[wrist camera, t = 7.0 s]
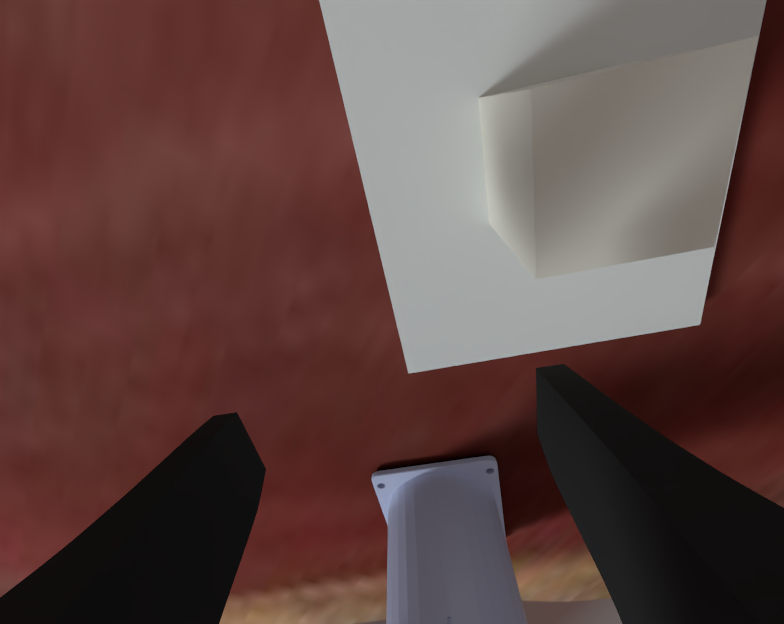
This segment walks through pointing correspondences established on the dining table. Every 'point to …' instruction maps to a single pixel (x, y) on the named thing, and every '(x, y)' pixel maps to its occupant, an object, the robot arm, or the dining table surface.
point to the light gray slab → (467, 174)
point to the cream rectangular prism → (615, 159)
